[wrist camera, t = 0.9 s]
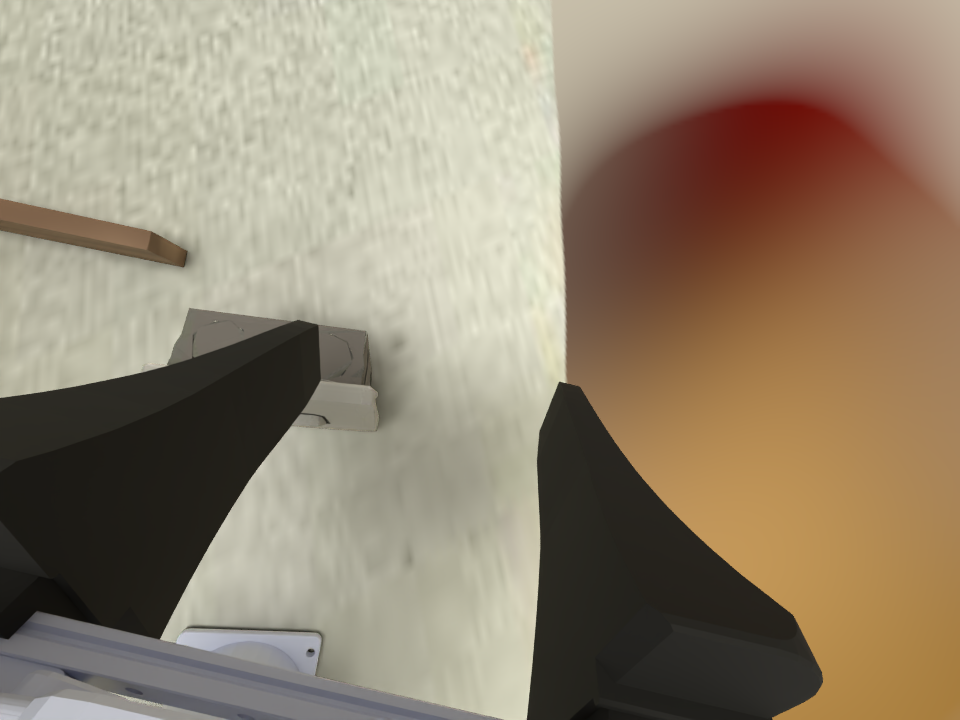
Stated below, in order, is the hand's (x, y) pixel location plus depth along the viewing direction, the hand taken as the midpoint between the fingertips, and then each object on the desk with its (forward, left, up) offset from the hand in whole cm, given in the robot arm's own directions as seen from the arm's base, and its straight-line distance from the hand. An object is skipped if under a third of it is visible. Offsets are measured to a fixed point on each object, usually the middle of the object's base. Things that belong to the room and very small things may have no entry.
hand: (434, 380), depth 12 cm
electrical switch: (-2, +7, -15) cm, 17 cm away
